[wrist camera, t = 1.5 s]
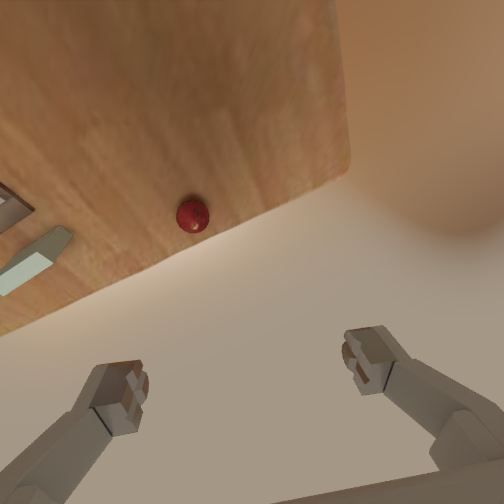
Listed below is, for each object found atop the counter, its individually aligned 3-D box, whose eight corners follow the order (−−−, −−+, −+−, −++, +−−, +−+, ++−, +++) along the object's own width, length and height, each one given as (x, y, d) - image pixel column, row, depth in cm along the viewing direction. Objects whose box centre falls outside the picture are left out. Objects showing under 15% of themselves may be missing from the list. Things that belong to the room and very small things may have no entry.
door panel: (16, 253, 40) (-16, 286, 33) (59, 224, 40) (36, 251, 33) (31, 262, 42) (3, 296, 35) (72, 235, 42) (53, 263, 34)
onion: (182, 189, 43) (186, 205, 37) (211, 202, 46) (218, 218, 40) (170, 216, 45) (172, 235, 39) (198, 227, 48) (204, 246, 42)
